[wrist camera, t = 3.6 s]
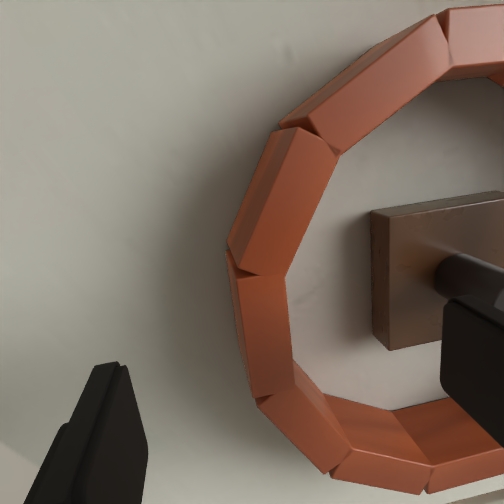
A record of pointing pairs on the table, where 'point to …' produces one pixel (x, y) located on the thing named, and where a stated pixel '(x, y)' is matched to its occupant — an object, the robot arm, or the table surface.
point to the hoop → (289, 238)
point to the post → (433, 263)
